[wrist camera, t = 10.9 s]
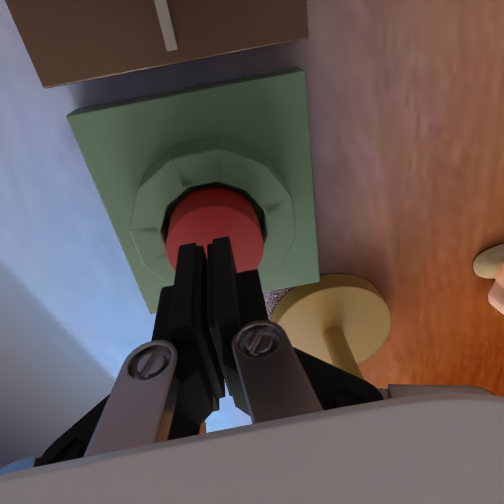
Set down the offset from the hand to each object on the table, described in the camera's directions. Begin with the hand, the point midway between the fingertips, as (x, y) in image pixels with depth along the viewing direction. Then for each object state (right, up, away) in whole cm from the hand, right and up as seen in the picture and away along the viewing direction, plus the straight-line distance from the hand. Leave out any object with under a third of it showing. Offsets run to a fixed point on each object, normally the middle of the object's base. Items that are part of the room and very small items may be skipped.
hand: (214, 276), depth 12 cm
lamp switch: (0, +2, +2) cm, 3 cm away
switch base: (0, +3, +5) cm, 6 cm away
